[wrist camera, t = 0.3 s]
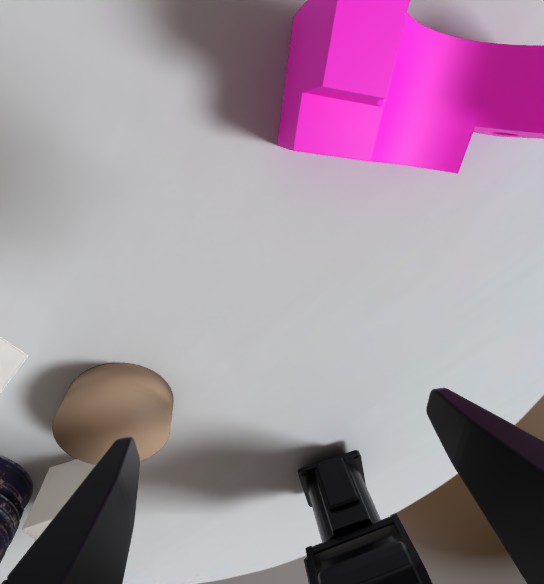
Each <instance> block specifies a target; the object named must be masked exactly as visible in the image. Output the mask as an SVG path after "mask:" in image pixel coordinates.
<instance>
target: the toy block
mask: <svg viewBox="0 0 544 584" xmlns="http://www.w3.org/2000/svg"><path fill="white" fill-rule="evenodd" d="M409 2H410V0H307V2H306V3H305V4H304V5H303V6H302V7H301V9H300V10H299V11H298V12H297V13H296V15H295V16H294V18H293V26H292V33H291V41H290V49H289V56H288V64H287V72H286V79H285V87H284V94H283V102H282V110H281V117H280V125H279V133H278V140H277V146H280V147H284V148H287V149H290V150H293V151H299V152H306V153H313V154H320V155H327V156H334V157H341V158H348V159H355V160H362V161H370V162H382V163H390V164H398V165H406V166H413V167H420V168H427V169H433V170H440V171H446V172H452V173H458V172H459V169H460V166H461V163H462V161H463V158H464V155H465V152H466V150H467V147H468V144H469V141H470V139H471V136H472V133H473V132H476V133H482V134H488V135H493V136H502V137H522V138H542V139H544V46H528V45H507V44H495V43H486V42H479V41H472V40H467V39H462V38H457V37H453V36H449V35H446V34H443V33H440V32H437V31H434V30H432V29H430V28H427V27H425V26H423V25H422V24H420V23H418V22H417V21H415V20H414V19H413V18H412V17H411V16H410V15H409V14H408V13H407V10H408V6H409Z"/></svg>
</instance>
